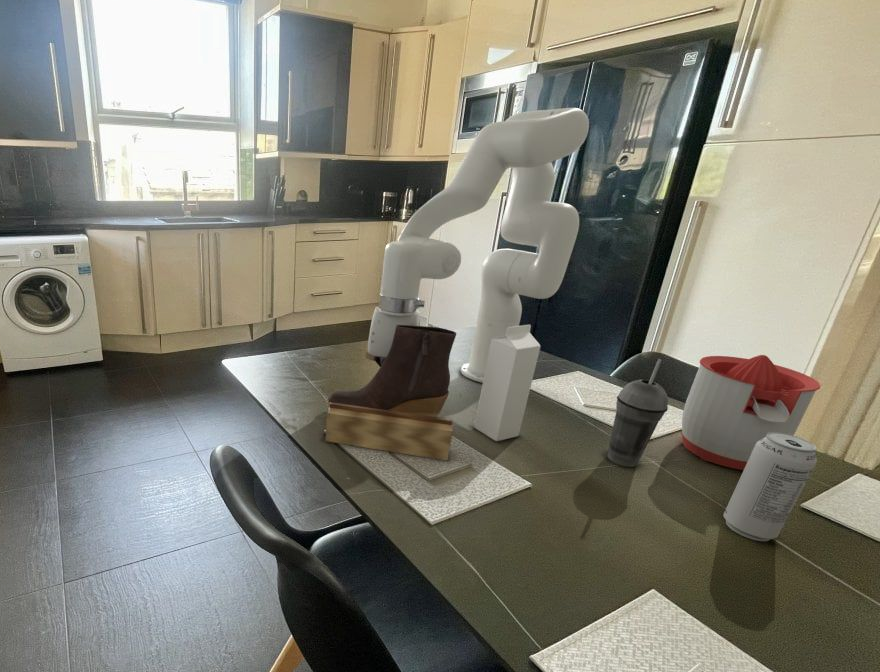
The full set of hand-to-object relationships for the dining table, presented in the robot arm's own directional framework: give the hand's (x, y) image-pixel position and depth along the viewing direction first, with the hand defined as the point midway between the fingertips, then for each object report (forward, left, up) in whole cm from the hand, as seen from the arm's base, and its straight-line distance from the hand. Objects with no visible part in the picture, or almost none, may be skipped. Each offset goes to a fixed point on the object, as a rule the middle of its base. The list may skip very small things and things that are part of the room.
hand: (387, 386), depth 105 cm
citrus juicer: (-62, +3, -4) cm, 62 cm away
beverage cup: (-43, +10, -4) cm, 44 cm away
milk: (-22, +6, -4) cm, 23 cm away
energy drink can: (-54, +26, -4) cm, 60 cm away
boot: (0, +6, -4) cm, 8 cm away
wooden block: (-1, +19, -4) cm, 19 cm away
